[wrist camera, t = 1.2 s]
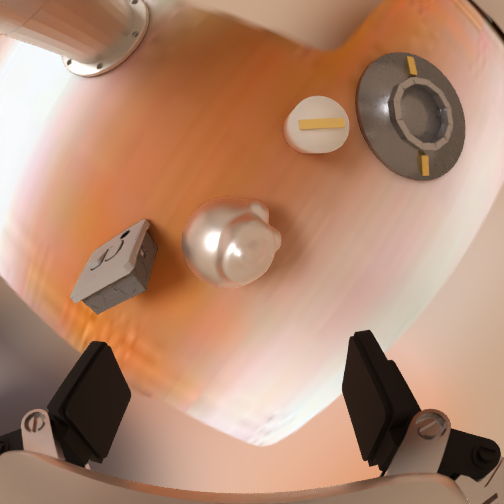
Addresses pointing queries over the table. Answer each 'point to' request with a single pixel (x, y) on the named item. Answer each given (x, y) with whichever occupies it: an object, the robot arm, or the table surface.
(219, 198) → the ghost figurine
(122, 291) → the electrical switch
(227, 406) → the table surface
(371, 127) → the socket
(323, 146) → the white rounded cylinder
